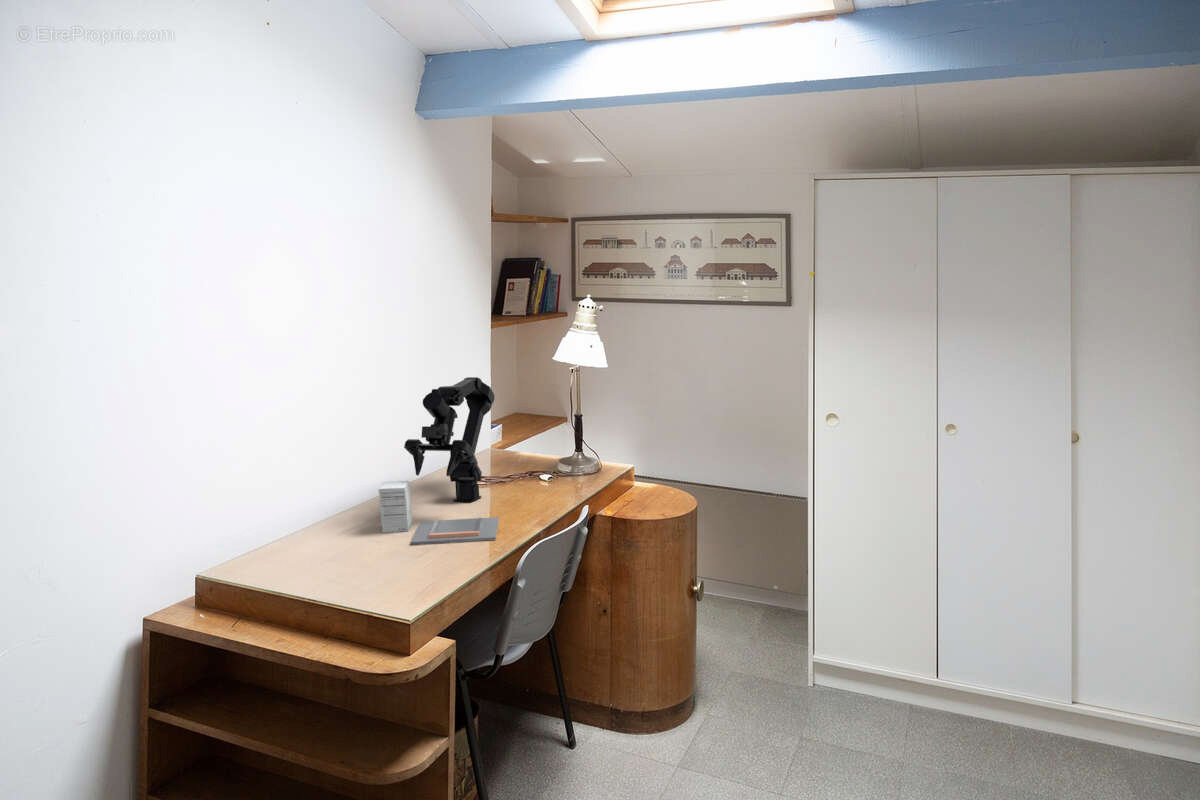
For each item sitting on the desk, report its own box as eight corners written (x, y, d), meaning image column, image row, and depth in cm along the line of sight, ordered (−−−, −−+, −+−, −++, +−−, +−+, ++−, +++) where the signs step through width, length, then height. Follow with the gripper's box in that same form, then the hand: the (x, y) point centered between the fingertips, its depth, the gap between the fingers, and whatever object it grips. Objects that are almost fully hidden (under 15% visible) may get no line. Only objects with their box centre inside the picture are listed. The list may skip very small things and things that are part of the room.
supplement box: (386, 525, 225) (382, 481, 223) (412, 523, 225) (409, 480, 223) (381, 533, 217) (377, 488, 215) (408, 531, 218) (405, 487, 216)
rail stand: (420, 524, 224) (420, 518, 224) (498, 519, 226) (498, 513, 226) (410, 545, 207) (410, 538, 206) (495, 540, 208) (495, 533, 208)
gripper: (402, 412, 225) (389, 463, 218) (463, 413, 221) (452, 464, 214) (417, 429, 235) (406, 478, 228) (476, 430, 231) (467, 480, 224)
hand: (432, 475), depth 223 cm, fingers open, 9 cm apart
